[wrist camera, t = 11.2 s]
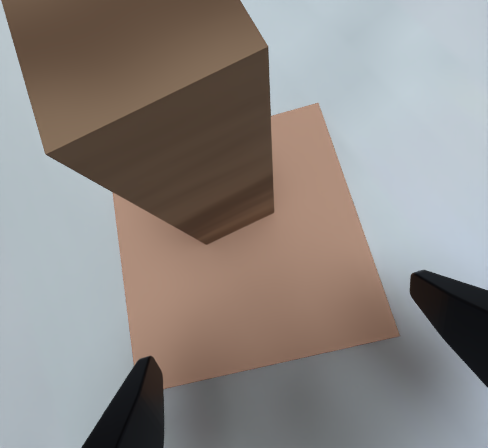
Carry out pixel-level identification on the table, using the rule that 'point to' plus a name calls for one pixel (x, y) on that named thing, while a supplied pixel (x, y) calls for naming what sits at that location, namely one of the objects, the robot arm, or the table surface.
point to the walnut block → (154, 103)
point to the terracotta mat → (257, 272)
